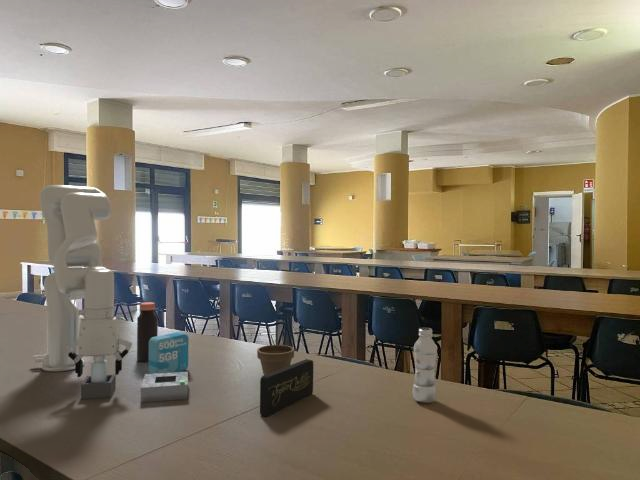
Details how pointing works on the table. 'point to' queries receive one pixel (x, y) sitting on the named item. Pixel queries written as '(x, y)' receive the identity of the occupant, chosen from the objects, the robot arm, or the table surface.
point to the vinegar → (146, 330)
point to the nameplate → (285, 387)
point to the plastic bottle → (424, 367)
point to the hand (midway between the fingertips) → (98, 374)
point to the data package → (168, 353)
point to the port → (164, 387)
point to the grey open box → (98, 388)
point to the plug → (99, 369)
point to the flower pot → (275, 357)
